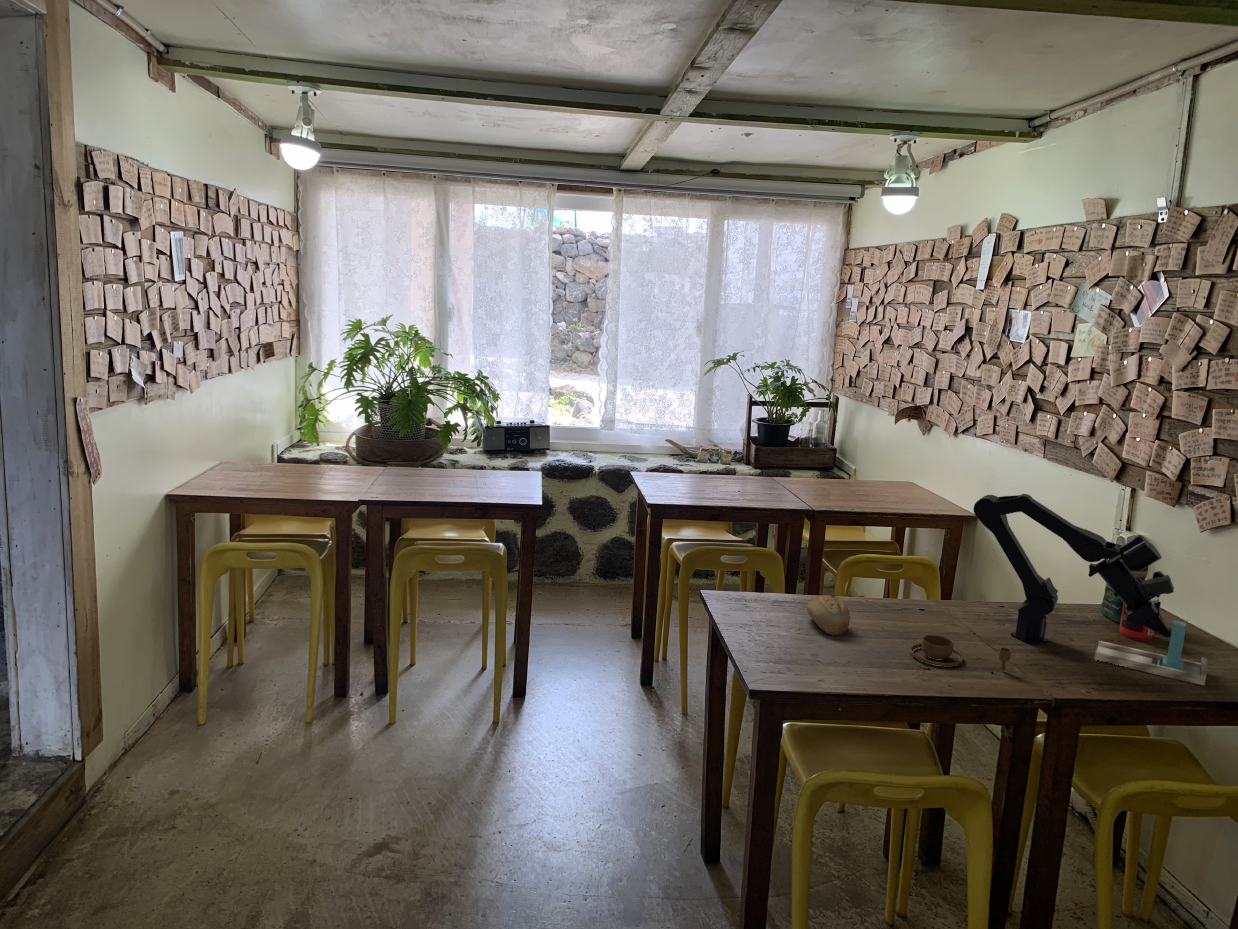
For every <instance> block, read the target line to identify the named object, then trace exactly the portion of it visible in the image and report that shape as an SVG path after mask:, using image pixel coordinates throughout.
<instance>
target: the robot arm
mask: <svg viewBox="0 0 1238 929" xmlns="http://www.w3.org/2000/svg"><path fill="white" fill-rule="evenodd" d="M973 513H974V516H975V517H976V518H977V519H978V521H979V522H980V523H981V524H982V525H983V526H984V527H985V528H986V529H987V530H989V531H990V532H991V533H992V534H993V536H994V538H995V539H996V541H997V542H998V545H999V546H1000V548H1001V550H1002V551H1003V552H1004V554H1005V556H1006V558H1007V560H1008V561H1009V563H1010V565H1011V566H1012V568H1013V570H1014V572H1015V573H1016V576H1018V579H1019V580H1020V581H1021V583H1022V588H1023V592H1024V595H1025V600H1023V602H1022V603H1021V604H1020V606H1019V608H1018V610H1017V612H1018V613H1017V619H1016V620H1017V621H1016V629H1015V631H1014V632H1010V636H1012V637H1014V638H1016V639H1018V640H1020V641H1023V642H1024V643H1027V644H1029V645H1033V644H1042V643H1048V642H1049V641H1050V640H1049V639H1048V638H1046V637H1045V636H1046V630H1047V615H1049V614H1051V613H1052V612H1053V611H1054V609H1055V607H1056V605H1057V603H1058V600H1059V596H1058V593H1059V590H1058V589H1057V588H1056V587H1055V586H1054V584H1053V581H1052V580H1051V577H1047V578H1046V579H1044V578H1043V577H1042V576H1040V575H1039V573H1038V571H1037V570H1036V569H1035V568H1036V567H1034V565H1033V564H1032V562H1031V560H1030V558H1029V556H1028V555H1027V553H1026V552H1025V550H1024V548H1023V547H1022V545H1021V543H1020V541H1019V539H1018V538H1017V537H1016V535H1015V533H1014V531H1013V530H1012V528H1011V526H1010V525H1009V520H1008V516H1007V515H1010V514H1013V513H1022V514H1024V515H1026V516H1028V517H1029V518H1030V519H1032V520H1034V521H1035V522H1036V523H1037V524H1039V525H1041V527H1044V528H1046V529H1047V530H1048V531H1050V532H1051V533H1053V534H1054V535H1056V536H1057V537H1059V538H1061V540H1063V541H1064V542H1066V544H1067V545H1068V546H1069V547H1070V548H1071V549H1072V550H1073V551H1074V552H1075V553H1076V554H1077V555H1078V556H1079V557H1080V558H1081V559H1082V560H1083V561H1085V562H1088V563H1089V565H1088V569H1089V571H1088V578H1089V577H1090V578H1092V577H1093V576H1095V575H1097V574H1098V575H1099V576H1100V577H1101V578H1102V580H1103V581H1104V582H1105V583H1107V584H1108V585H1109V586H1110V588H1111V589H1112V590H1113V591H1114V592H1113V594H1114V595H1115V597H1117V596H1118V597H1119V598H1120V599H1121V600H1122V602H1123V603H1124V604H1125V605H1126V607H1125V608H1126V609H1127V611H1128V614H1127V620H1126V621H1127V622H1128V623H1129V625H1130V626H1131V627H1135V626H1137V625H1139V624H1141V625H1143V626H1145V627H1147V628H1149V629H1151V630H1153V631H1154V633H1157V634H1159V635H1160V636H1163V637H1165V638H1170V637H1171V632H1170V631H1171V630H1170V629H1169V627H1168V624H1166V622H1165V619H1164V618H1163V616H1162V614H1161V612H1160V611H1161V604H1162V602H1161V601H1159V602H1158V603H1156V604H1154V603H1153V602H1152V601H1151V599H1152V598H1154V597H1159V598H1160V597H1161V595H1164V594H1165V595H1168V594H1169V595H1170V594H1172V593H1173V594H1174V592H1175V591H1174V589H1175V588H1174V584H1173V582H1172V578H1171V577H1170V575H1168V574H1166V575H1165V574H1164V573H1163V572H1162V571H1161V570H1158V571H1153V574H1152V578H1150V577H1149V578H1148V579H1145V580H1144V581H1142V580H1141V579H1140V577H1137V576H1136V577H1135V576H1134V575H1133V574H1132V573H1131V572H1130V571H1129V570H1128V568H1127V567H1126V566H1125V565H1124V564H1123V563H1122V562H1121V560H1120V559H1122V560H1123V562H1124V563H1125V564H1126V565H1127V566H1128V567H1129V568H1130V569H1131V570H1138V571H1140V570H1142V569H1144V568H1145V567H1147V566H1148V567H1150V566H1151V565H1153V564H1154V563H1156V562H1157V561H1159V560H1161V559H1162V557H1163V556H1162V555H1161V553H1160V552H1159V549H1158V548H1157V547H1156V546H1155V545H1154V544H1153V543H1152V542H1150V541H1149V540H1148V539H1146V538H1145V537H1143V535H1141V534H1138V535H1137V536H1135V537H1134V538H1133V539H1132V540H1130V541H1128V542H1127V543H1125V544H1123V545H1122V544H1118V543H1115V542H1111V541H1107V540H1106V539H1105V538H1104V537H1103V536H1102V535H1099V534H1098V533H1095V532H1093V531H1091V530H1088V529H1085V528H1082V527H1080V526H1076V525H1074V523H1072V522H1070V521H1068V520H1067V519H1065V518H1064V517H1062V516H1061V515H1059V514H1058V513H1056V512H1054V511H1053V510H1052V509H1050V508H1048V507H1047V506H1046V505H1044V504H1042V503H1040V502H1039V501H1038V500H1035V499H1034V498H1033V497H1032V496H1031V495H1030V494H1027V493H1021V494H1017V495H1016V494H1015V495H1004V496H997V495H994V494H987V495H984V496H982V497H981V498H979V499H978V500H977V501H976V502H975V503H974V506H973ZM1118 555H1119V556H1118ZM1109 559H1111V560H1109ZM1097 562H1098V563H1097ZM1150 601H1151V602H1150Z"/></svg>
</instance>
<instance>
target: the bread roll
mask: <svg viewBox="0 0 1238 929" xmlns="http://www.w3.org/2000/svg"><path fill="white" fill-rule="evenodd" d="M806 612H807V614H808V615H809V617H810V618H811V619H812V621H814V623H815V624H816V625H817V626H818V627H819V628H820V629H821V630H822V631H823V632H824V633H825V634H827V633H828V635H830V634H831V635H830V636H834V635H837V636H839V635H840V636H841V635H843V634H844V633H845V632H846V631H847V629H848V628H849V626H850V621H851V614H850V609H849V607H848V605H847V604H846V602H845V601H844V600H843V599H842V598H841V597H839V596H836V595H834V594H831V595H830V594H829V595H827V594H825V595H817V596H815V597H813V598H811V599H810V600H809V603H808V604H807V607H806Z"/></svg>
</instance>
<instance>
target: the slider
mask: <svg viewBox="0 0 1238 929" xmlns="http://www.w3.org/2000/svg"><path fill="white" fill-rule="evenodd" d="M1186 627H1187V622H1182V621H1178V620H1172V626H1171V632H1170V633H1171V636H1170V637H1169V645H1168V649H1167V655H1166V654H1163V655H1164V656H1163V662H1162V666H1165V667H1169V668H1174V669H1178V670H1183V661H1184V660H1185V659H1183V658H1182V653H1183V646H1184V641H1185V634H1186V631H1187V630H1186V629H1187V628H1186Z"/></svg>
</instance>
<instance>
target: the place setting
mask: <svg viewBox="0 0 1238 929" xmlns="http://www.w3.org/2000/svg"><path fill="white" fill-rule="evenodd" d="M954 644H955V643H954V642H953V640H952V639H951V638H948V637H945V636H942V635H935V634H929V635H924V636H923V637H922V641H921V642H920V643H915V644H913V645H911V646H910V648H909V653H910V656H911V657H912V656H913V657H915V658H916V659H919V660H920V661H923V662H927V663H931V664H935V665H942V666H955V665H958V664H960V663H961V664H962V663H963V662H964V655H963V654H962V653H961V652H960V651H959V650H956V649H955V648H954ZM918 647H922V649H921V650H922V652H923V653H924V654H925V655H926V656H927V657H928V656H929V657H931V658H934V659H945V660H946V659H948V658H950V657H951V656H953V655H952V652H953V653H955V654H957V655H959V656H960V658H961V660H960V661H959V660H958V661H956V662H941V661H940V662H939V661H935V660H930V659H925V658H923V657H921V656H919V655H917V654H915V652H914V653H913V652H912V651H913V649H915V648H918ZM1011 654H1012V649H1010V648H1008V647H1000V648H999V651H998V659H999V661H1000V662H1001V665H1000V670H1004V671H1005V670H1006V663H1007V662H1009V661H1010V659H1011V656H1012V655H1011ZM913 657H912V658H913ZM916 659H915V660H916ZM920 661H919V662H920ZM961 664H960V665H961Z"/></svg>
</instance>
